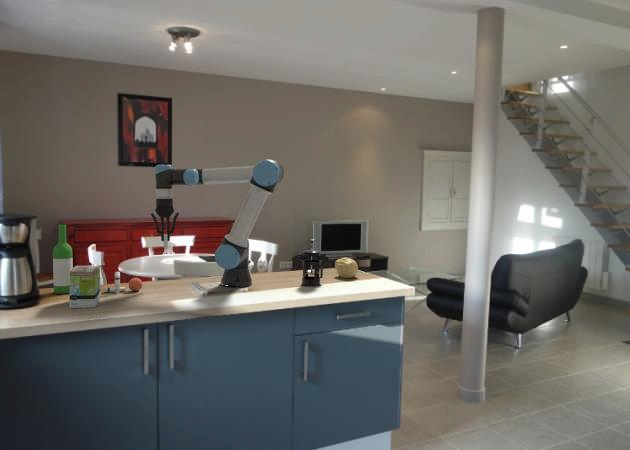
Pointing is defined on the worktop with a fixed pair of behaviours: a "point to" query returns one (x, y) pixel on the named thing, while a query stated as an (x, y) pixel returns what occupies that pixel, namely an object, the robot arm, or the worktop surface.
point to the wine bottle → (62, 263)
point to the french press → (311, 279)
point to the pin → (117, 283)
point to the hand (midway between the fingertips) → (165, 248)
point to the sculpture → (346, 267)
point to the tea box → (84, 286)
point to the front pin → (114, 289)
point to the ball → (135, 284)
